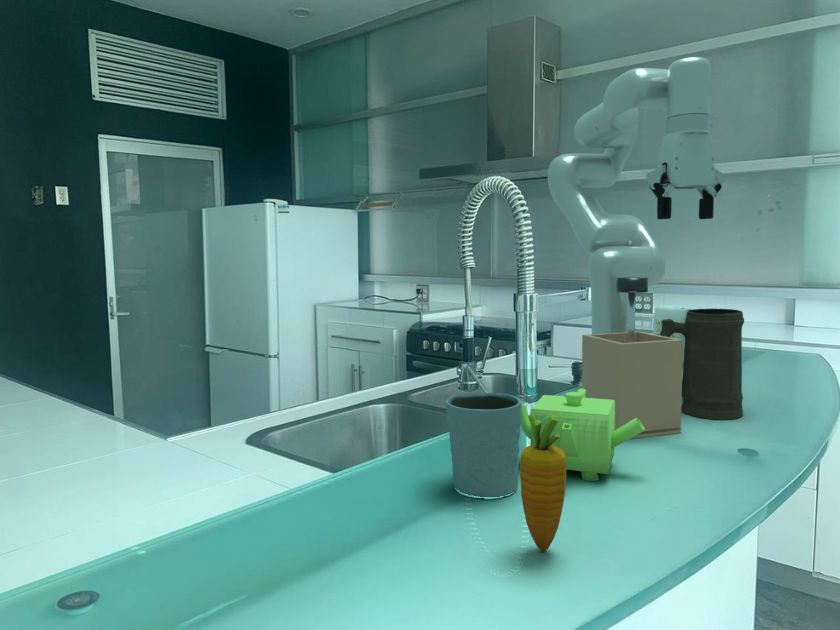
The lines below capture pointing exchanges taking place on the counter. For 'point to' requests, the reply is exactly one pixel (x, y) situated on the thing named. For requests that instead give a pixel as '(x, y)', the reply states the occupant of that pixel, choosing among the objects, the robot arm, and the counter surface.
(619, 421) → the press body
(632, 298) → the plunger
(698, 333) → the beer stein
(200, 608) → the counter surface
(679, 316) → the juice carton
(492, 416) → the gray cup
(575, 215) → the robot arm
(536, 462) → the carrot
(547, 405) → the kettle
